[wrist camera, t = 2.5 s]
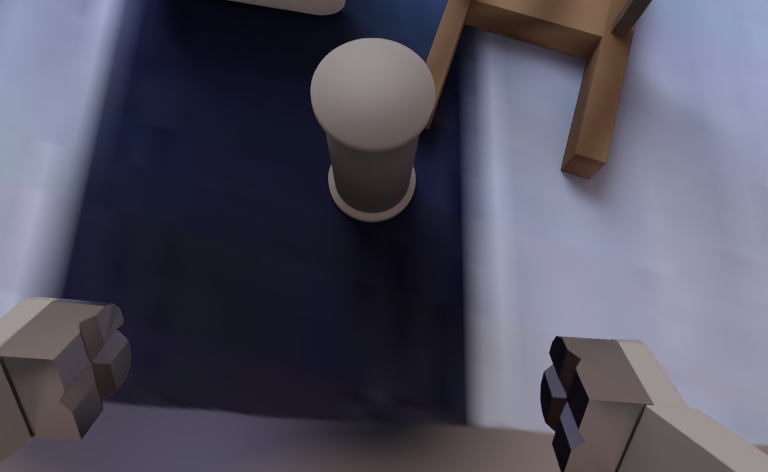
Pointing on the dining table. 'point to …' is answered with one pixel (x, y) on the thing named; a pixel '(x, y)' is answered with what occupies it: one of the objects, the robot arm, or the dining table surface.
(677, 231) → the dining table surface
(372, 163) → the grey mushroom bollard
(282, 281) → the dining table surface
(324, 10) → the cable organizer
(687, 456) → the robot arm
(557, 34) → the wooden frame
